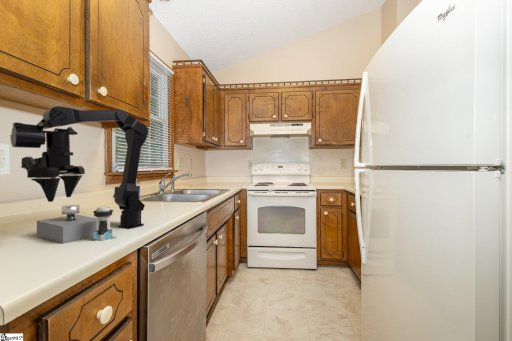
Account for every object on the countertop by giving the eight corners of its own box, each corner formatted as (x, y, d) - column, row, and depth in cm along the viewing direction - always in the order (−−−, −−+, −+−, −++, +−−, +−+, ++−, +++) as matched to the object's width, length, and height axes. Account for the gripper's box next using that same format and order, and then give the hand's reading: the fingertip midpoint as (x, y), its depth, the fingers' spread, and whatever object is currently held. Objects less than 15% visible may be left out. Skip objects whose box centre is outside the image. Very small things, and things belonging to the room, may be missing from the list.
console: (76, 228, 93) (76, 214, 93) (103, 234, 85) (103, 219, 85) (36, 235, 82) (36, 220, 82) (63, 243, 75) (63, 226, 75)
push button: (118, 235, 84) (118, 205, 84) (116, 240, 79) (116, 208, 79) (94, 237, 81) (94, 206, 81) (91, 242, 76) (91, 209, 76)
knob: (74, 226, 87) (74, 204, 87) (82, 227, 85) (82, 205, 85) (58, 229, 83) (58, 206, 83) (66, 231, 80) (66, 207, 80)
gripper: (48, 149, 85) (50, 195, 86) (3, 147, 67) (5, 205, 68) (84, 150, 87) (86, 194, 88) (50, 147, 69) (52, 204, 70)
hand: (60, 199), depth 78 cm, fingers open, 9 cm apart
